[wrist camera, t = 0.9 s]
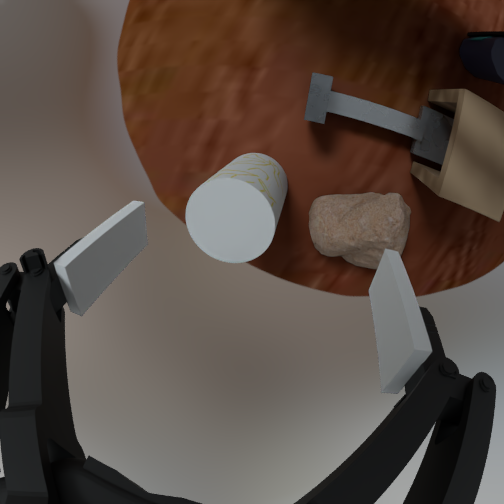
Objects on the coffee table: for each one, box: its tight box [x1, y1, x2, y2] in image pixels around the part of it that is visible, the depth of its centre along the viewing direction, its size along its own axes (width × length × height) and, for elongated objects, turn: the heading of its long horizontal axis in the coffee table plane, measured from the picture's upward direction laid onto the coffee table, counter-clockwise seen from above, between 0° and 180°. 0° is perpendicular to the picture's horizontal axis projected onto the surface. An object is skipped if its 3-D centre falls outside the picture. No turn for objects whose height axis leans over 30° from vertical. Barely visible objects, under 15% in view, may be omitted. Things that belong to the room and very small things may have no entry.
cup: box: [186, 153, 288, 263], centre depth 30 cm, size 8×8×12 cm
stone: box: [308, 192, 411, 269], centre depth 31 cm, size 12×9×10 cm
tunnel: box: [410, 89, 504, 222], centre depth 23 cm, size 11×9×9 cm
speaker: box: [459, 32, 504, 84], centre depth 15 cm, size 8×6×10 cm
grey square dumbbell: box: [304, 73, 454, 165], centre depth 25 cm, size 6×26×5 cm, turn 82°
